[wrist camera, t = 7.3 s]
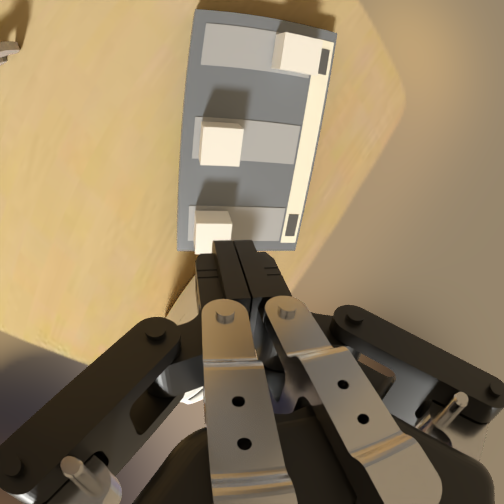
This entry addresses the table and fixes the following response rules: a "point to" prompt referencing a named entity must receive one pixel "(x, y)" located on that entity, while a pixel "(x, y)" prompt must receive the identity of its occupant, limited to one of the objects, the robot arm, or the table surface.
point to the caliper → (7, 50)
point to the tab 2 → (297, 53)
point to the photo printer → (182, 314)
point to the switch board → (250, 128)
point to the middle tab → (220, 144)
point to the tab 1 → (210, 229)
